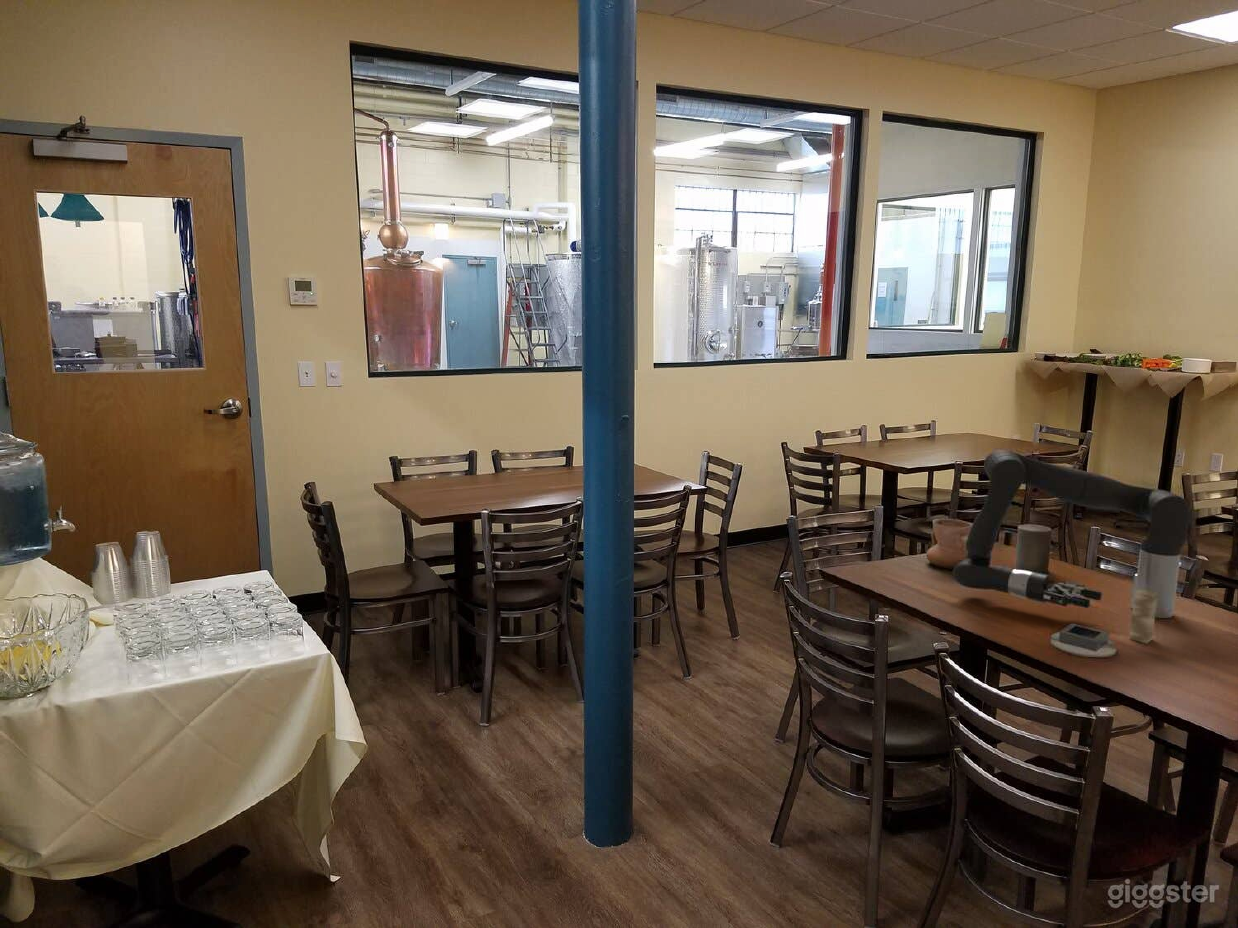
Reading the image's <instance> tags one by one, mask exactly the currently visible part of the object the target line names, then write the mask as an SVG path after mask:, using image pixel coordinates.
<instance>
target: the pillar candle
mask: <svg viewBox="0 0 1238 928" xmlns="http://www.w3.org/2000/svg"><path fill="white" fill-rule="evenodd" d="M1052 531H1053V530H1052V528H1051V527H1048V526H1044V525H1041V524H1040V525H1039V524H1037V523H1035V524H1020V525H1018V526H1017V535H1016V536H1017V539H1016V547H1015V548H1016V550H1015V560H1014V569H1020V570H1027V571H1032V572H1037V573H1041V574H1048V573H1049V565H1050V553H1051V541H1052V534H1053V533H1052Z"/></svg>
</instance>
